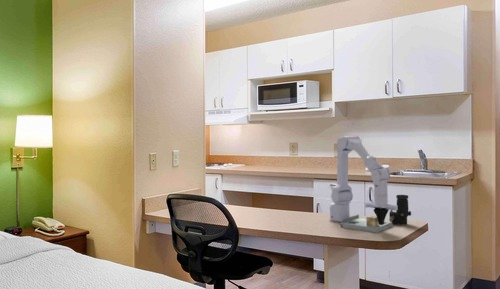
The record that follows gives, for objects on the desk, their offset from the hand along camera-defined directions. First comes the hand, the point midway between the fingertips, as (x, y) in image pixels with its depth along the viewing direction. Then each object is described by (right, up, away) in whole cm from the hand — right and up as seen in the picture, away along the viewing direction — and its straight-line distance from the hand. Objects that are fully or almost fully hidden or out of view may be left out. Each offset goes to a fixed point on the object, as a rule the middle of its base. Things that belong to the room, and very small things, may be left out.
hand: (381, 224), depth 186 cm
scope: (+14, -3, +13) cm, 19 cm away
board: (-4, -3, +9) cm, 11 cm away
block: (-3, -1, +3) cm, 4 cm away
